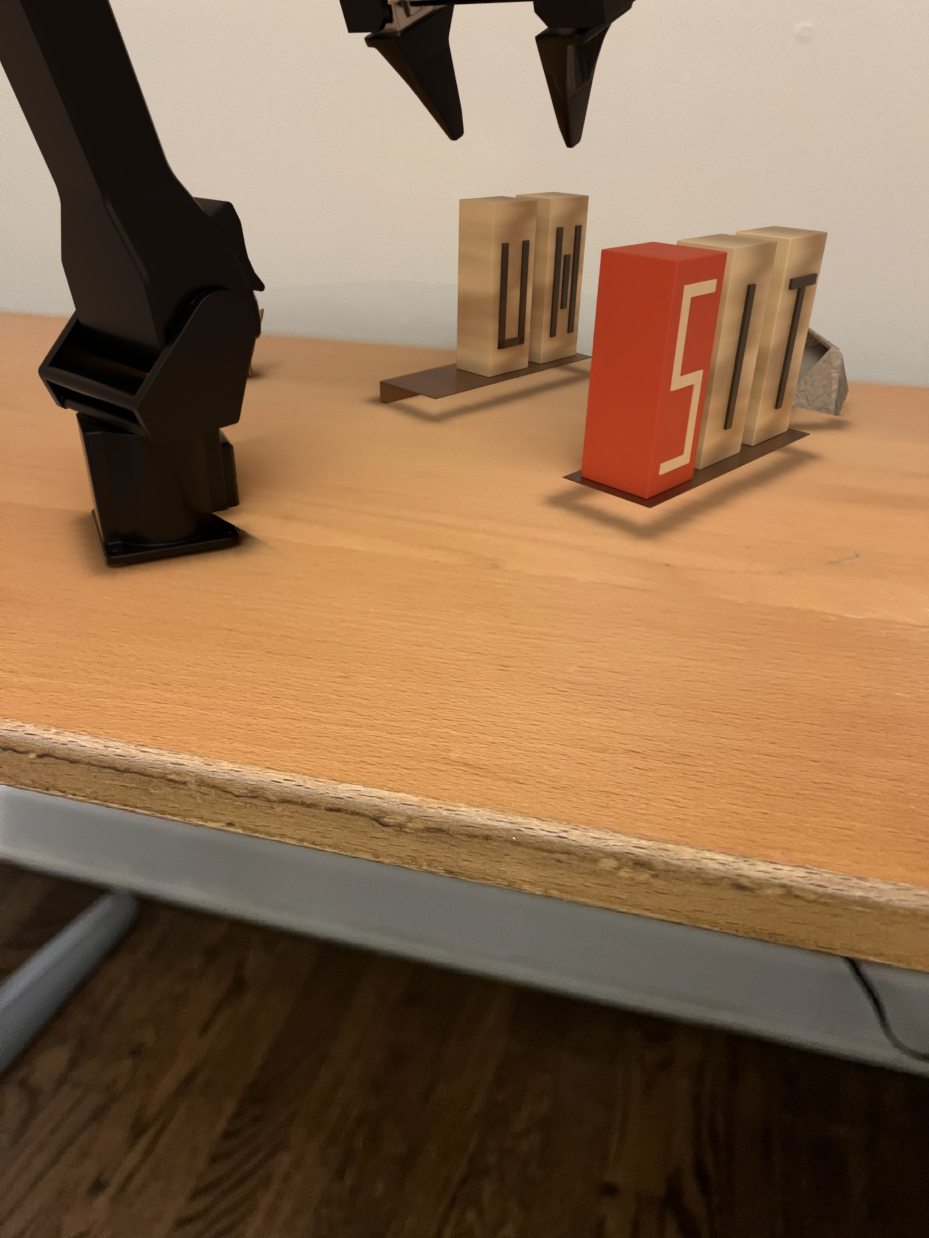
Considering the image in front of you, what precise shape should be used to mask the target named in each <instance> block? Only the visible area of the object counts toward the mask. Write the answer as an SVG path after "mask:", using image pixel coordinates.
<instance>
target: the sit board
mask: <svg viewBox="0 0 929 1238" xmlns="http://www.w3.org/2000/svg"><path fill="white" fill-rule="evenodd" d="M827 240H828V232H827V231H824V230H816V229H815V230H814V229H806V228H798V227H789V226H781V225H770V226H764V227H756V228H750V229H744V230H737V231H735V234H728V233H715V234H710V235H702V236H696V237H690V238H684V239H683V238H682V239H677V241H676V245H681V246H688V247H695V248H703V249H710V250H717V251H724V252H727V259H726V266H725V272H724V278H723V285H722V291H721V298H720V304H719V311H718V317H717V324H716V330H715V336H714V343H713V349H712V356H711V362H710V369H709V375H708V382H707V388H706V394H705V401H704V407H703V414H702V420H701V427H700V433H699V440H698V446H697V452H696V459H695V465H694V472H693V478H692V479H691V480H688V481H686V482H684V483H682V484H679V485H677V486H675V487H673V488H671V489H668V490H666V491H664V492H662V493H659V494H657V495H655V496H653V497H651V498H648V499H644V498H642V497H639V496H636V495H633V494H630V493H627V492H624V491H621V490H618V489H615V488H613V487H610V486H607V485H604V484H601V483H598V482H595V481H592V480H589V479H586V478H584V477H581V470H582V469H579V470H576V471H574V472H571V473H569V474H566V475H563V476H562V479H565V480H568V481H571V482H573V483H576V484H579V485H582V486H585V487H587V488H591V489H594V490H596V491H599V492H602V493H605V494H608V495H611V496H613V497H617V498H619V499H622V500H625V501H627V502H630V503H633V504H636V505H639V506H642V507H644V508H647V509H652V508H654V507H656V506H660V505H661V504H664V503H666V502H668V501H669V500H672V499H673V498H676V497H679V496H681V495H683V494H685V493H687V492H689V491H691V490H693V489H696V488H698V487H700V486H702V485H704V484H706V483H708V482H710V481H711V482H712V481H714V480H715V479H717V478H720V477H722V476H723V475H726V474H727V473H730V472H733V471H734V470H737V469H739V468H741V467H743V466H746V465H747V464H749V463H753V461H756V460H758V459H761V458H762V457H765V456H767V455H769V454H771V453H773V452H776V451H777V450H779V449H782V448H784V447H787V446H789V445H791V444H792V443H795V442H797V441H799V440H801V439H804V438H805V437H808V436H810V435H811V433H809V432H805V431H801V430H798V429H793V428H790V427H789V425H790V419H791V415H792V409H793V406H792V405H793V400H794V395H795V391H796V386H797V381H798V376H799V371H800V366H801V361H802V356H803V351H804V347H805V342H806V337H807V332H808V327H809V328H810V322H811V317H812V312H813V307H814V302H815V298H816V297H815V296H816V292H817V289H818V288H817V287H818V283H819V277H820V273H821V268H822V263H823V259H824V253H825V249H826V243H827Z"/></svg>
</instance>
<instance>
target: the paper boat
mask: <svg viewBox="0 0 929 1238" xmlns="http://www.w3.org/2000/svg"><path fill="white" fill-rule="evenodd" d="M848 393H849V384H848V377H847V372H846V366H845V361H844V355H843V353H842V351H841V349H840V347H838V346H837V345H835V344H834V343H833V342H831V341H829V340H828V339H826V338H825V337H823V336H822V335H821V334H819V333H818V332H816V331H815V330H814V329H812V328H811V327H810V326H809V327H808V332H807V337H806V342H805V347H804V351H803V356H802V361H801V366H800V371H799V376H798V381H797V386H796V391H795V395H794V400H793V405H792V407H798V408H801V409H805V410H809V411H814V412H817V413H822V414H826V415H830V416H834V417H839V416H840V413H841V410H842V408H843V406H844V403H845V400H846V398H847V396H848Z"/></svg>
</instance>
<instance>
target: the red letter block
mask: <svg viewBox="0 0 929 1238" xmlns="http://www.w3.org/2000/svg"><path fill="white" fill-rule="evenodd" d="M726 259H727V252H724V251H717V250H710V249H703V248H695V247H688V246H681V245H677V244H673V243H667V242H666V243H665V242H659V241H648V242H641V243H635V244H628V245H627V244H626V245H619V246H615V247H614V246H613V247H608V248H602V249H601V250H600V262H599V270H598V271H599V272H598V280H597V281H598V283H597V293H596V294H597V295H596V303H595V304H596V305H595V316H594V327H593V337H592V338H593V339H592V349H591V356H592V358H590V359H591V360H590V371H589V383H588V395H587V403H586V404H587V405H586V416H585V426H584V427H585V428H584V438H583V448H582V460H581V469H580V470H581V477H584V478H586V479H589V480H592V481H595V482H598V483H601V484H604V485H607V486H610V487H613V488H615V489H618V490H621V491H624V492H627V493H630V494H633V495H636V496H639V497H642V498H644V499H648V498H651V497H653V496H655V495H657V494H659V493H662V492H664V491H666V490H668V489H671V488H673V487H675V486H677V485H679V484H682V483H684V482H686V481H688V480H691V479H692V478H693V472H694V465H695V459H696V452H697V446H698V440H699V433H700V427H701V420H702V414H703V407H704V401H705V394H706V388H707V382H708V375H709V369H710V362H711V356H712V349H713V343H714V336H715V330H716V324H717V317H718V311H719V304H720V298H721V291H722V285H723V278H724V272H725V266H726Z"/></svg>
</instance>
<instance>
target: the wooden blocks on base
mask: <svg viewBox="0 0 929 1238" xmlns="http://www.w3.org/2000/svg"><path fill="white" fill-rule="evenodd" d="M589 199H590V195H589V194H588V195H587V194H579V193H569V192H562V191H561V192H560V191H545V192H532V193H522V194H515V196H507V195H495V196H484V197H472V198H470V197H469V198H460V199H459V201H458V247H457V248H458V250H457V251H458V253H457V255H458V256H457V306H456V307H457V309H456V310H457V312H456V313H457V315H456V317H457V318H456V362H454V363H450V364H445V365H442V366H437V367H433V368H428V369H425V370H421V371H415V372H412V373H411V372H410V373H408V374H404V375H403V374H402V375H400V376H395V377H391V378H387V379H382V380H379V401H380V402H383V403H386V404H391V403H395V402H399V401H403V400H406V399H410V398H414V397H418V396H423V397H427V398H429V399H433V400H438V399H442V398H446V397H450V396H453V395H458V394H460V393H465V392H469V391H472V390H477V389H480V388H483V387H487V386H491V385H495V384H499V383H503V382H505V381H510V380H514V379H517V378H521V377H525V376H529V375H532V374H536V373H540V372H543V371H544V372H545V371H548V370H551V369H556V368H559V367H563V366H567V365H570V364H573V363H578V362H581V361H585V360H588V359H592V355H588V354H584V353H581V352H577V348H578V347H577V345H578V337H579V336H578V333H579V323H580V311H581V298H582V285H583V274H584V273H583V272H584V262H585V261H584V260H585V248H586V236H587V223H588V213H589Z"/></svg>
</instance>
